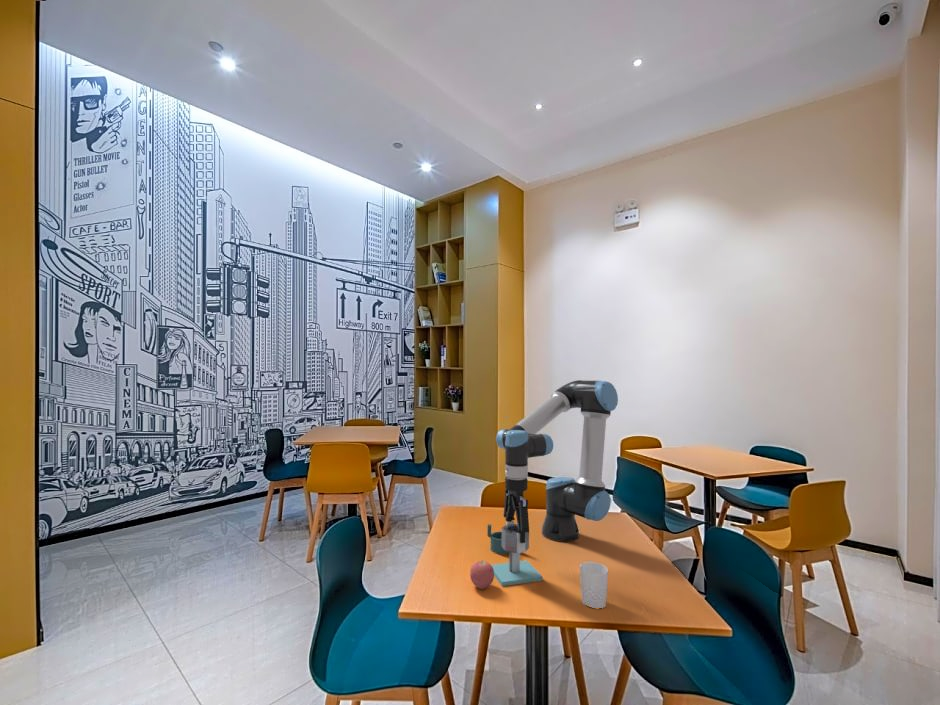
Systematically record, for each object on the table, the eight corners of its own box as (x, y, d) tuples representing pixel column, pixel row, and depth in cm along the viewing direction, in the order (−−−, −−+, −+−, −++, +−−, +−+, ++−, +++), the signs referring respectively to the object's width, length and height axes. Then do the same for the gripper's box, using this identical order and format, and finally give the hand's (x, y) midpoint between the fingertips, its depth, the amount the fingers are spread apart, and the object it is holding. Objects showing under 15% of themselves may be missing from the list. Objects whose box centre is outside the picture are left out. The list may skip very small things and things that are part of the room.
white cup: (576, 596, 123) (576, 561, 124) (601, 595, 124) (601, 561, 124) (585, 611, 115) (585, 574, 116) (612, 610, 116) (612, 573, 117)
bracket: (517, 551, 154) (517, 526, 155) (497, 556, 149) (497, 530, 150) (503, 542, 162) (504, 519, 162) (484, 547, 157) (484, 523, 158)
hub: (521, 541, 142) (521, 523, 142) (532, 551, 133) (532, 532, 134) (498, 543, 139) (499, 525, 139) (508, 553, 131) (508, 534, 131)
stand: (526, 563, 144) (527, 537, 144) (542, 580, 132) (542, 551, 133) (489, 568, 140) (489, 540, 140) (502, 586, 128) (502, 555, 129)
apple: (470, 580, 131) (470, 554, 132) (493, 581, 131) (493, 555, 131) (469, 592, 124) (470, 565, 124) (494, 593, 124) (494, 566, 124)
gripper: (494, 470, 147) (493, 535, 145) (518, 486, 126) (517, 561, 125) (514, 469, 149) (513, 533, 148) (540, 484, 129) (540, 559, 127)
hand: (515, 546), depth 136 cm, fingers closed on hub, 8 cm apart
